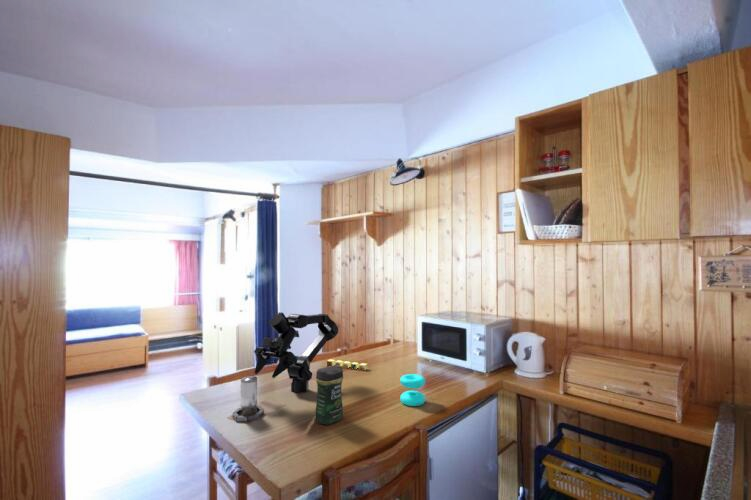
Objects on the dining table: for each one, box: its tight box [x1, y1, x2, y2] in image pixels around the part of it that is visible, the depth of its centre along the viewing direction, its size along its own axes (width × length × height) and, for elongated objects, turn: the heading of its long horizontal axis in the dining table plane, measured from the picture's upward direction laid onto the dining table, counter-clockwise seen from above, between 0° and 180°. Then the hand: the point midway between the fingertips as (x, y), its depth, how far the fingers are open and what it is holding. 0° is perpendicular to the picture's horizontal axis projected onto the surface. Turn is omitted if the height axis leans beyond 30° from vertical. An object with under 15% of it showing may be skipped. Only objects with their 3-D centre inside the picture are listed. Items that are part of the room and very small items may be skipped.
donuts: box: [399, 373, 426, 407], centre depth 138 cm, size 10×10×10 cm
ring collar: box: [231, 406, 264, 423], centre depth 123 cm, size 10×10×2 cm
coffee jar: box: [314, 365, 344, 426], centre depth 123 cm, size 10×8×19 cm
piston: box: [240, 375, 258, 416], centre depth 124 cm, size 6×6×13 cm
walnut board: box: [226, 399, 288, 426], centre depth 127 cm, size 19×11×1 cm, turn 151°
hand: (263, 375), depth 130 cm, fingers open, 9 cm apart
